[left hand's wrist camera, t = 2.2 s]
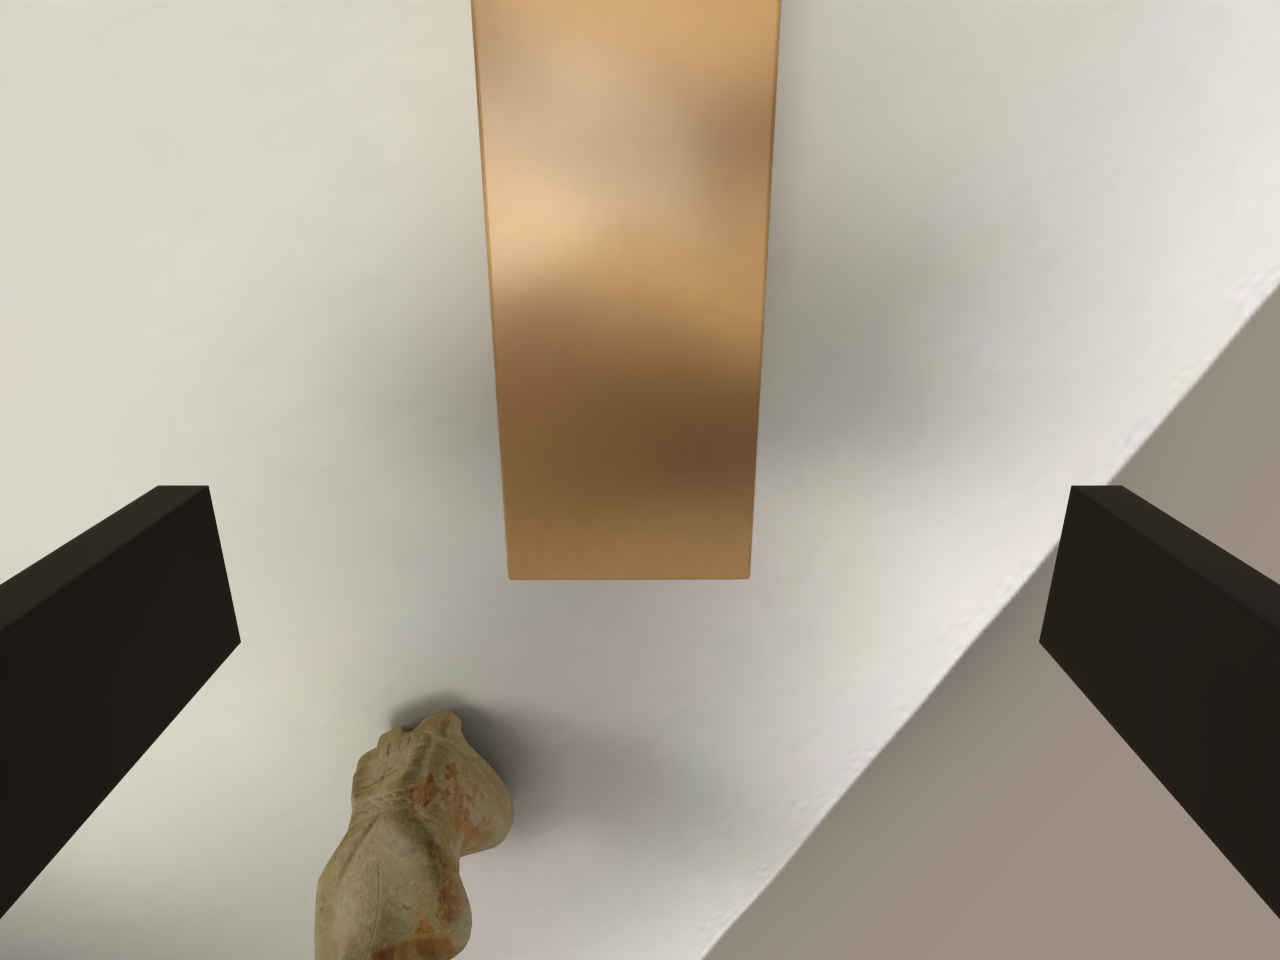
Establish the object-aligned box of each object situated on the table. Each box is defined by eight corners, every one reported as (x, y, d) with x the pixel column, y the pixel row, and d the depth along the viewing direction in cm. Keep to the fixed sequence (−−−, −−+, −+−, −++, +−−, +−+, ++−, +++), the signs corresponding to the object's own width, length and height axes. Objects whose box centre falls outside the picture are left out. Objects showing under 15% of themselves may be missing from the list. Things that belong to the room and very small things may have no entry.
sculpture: (423, 836, 37) (296, 1228, 23) (353, 717, 35) (166, 1074, 21) (537, 803, 37) (477, 1185, 23) (474, 679, 34) (364, 1021, 20)
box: (705, 429, 31) (750, 580, 19) (556, 429, 31) (507, 581, 19) (725, -222, 24) (816, -632, 12) (531, -223, 24) (428, -634, 12)
